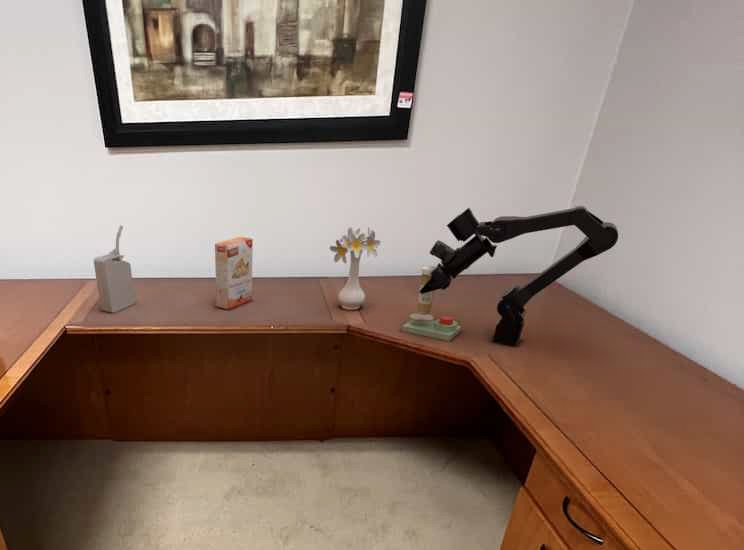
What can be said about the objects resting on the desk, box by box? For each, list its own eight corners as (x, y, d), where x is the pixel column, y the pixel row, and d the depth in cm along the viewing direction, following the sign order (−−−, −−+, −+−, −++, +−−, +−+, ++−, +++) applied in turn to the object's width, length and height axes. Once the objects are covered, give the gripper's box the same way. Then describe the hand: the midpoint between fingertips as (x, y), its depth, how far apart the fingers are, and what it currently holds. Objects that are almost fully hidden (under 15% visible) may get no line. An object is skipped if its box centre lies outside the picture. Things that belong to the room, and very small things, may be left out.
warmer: (460, 331, 172) (463, 320, 170) (449, 341, 166) (451, 329, 164) (414, 322, 180) (416, 311, 178) (401, 331, 173) (403, 319, 171)
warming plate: (437, 316, 173) (437, 315, 173) (428, 323, 169) (428, 322, 168) (415, 312, 177) (415, 311, 177) (405, 318, 172) (406, 317, 172)
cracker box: (229, 310, 192) (227, 245, 179) (215, 307, 195) (213, 243, 182) (253, 300, 201) (253, 237, 188) (240, 297, 204) (239, 235, 191)
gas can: (129, 299, 204) (119, 224, 189) (139, 301, 202) (130, 225, 187) (101, 311, 193) (88, 232, 178) (112, 313, 191) (100, 234, 176)
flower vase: (320, 311, 190) (326, 231, 175) (346, 298, 201) (354, 222, 187) (354, 318, 183) (363, 236, 168) (379, 304, 195) (389, 226, 180)
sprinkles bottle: (432, 312, 172) (440, 266, 164) (427, 316, 169) (435, 269, 161) (418, 309, 174) (425, 264, 166) (413, 313, 171) (420, 267, 163)
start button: (453, 323, 169) (454, 317, 168) (449, 326, 167) (450, 320, 166) (442, 321, 171) (443, 315, 170) (437, 324, 169) (438, 318, 168)
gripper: (456, 225, 163) (413, 262, 174) (444, 237, 150) (398, 276, 160) (479, 256, 165) (434, 290, 175) (469, 271, 151) (421, 307, 162)
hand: (422, 290), depth 168 cm, fingers closed on sprinkles bottle, 4 cm apart
